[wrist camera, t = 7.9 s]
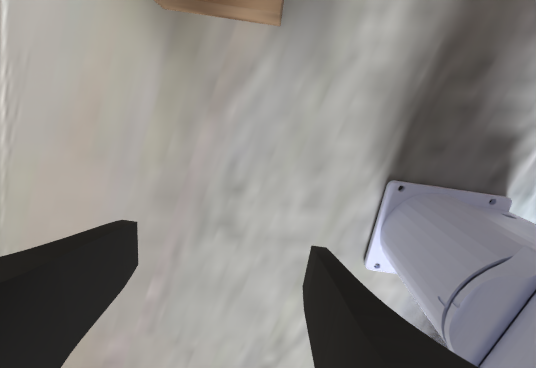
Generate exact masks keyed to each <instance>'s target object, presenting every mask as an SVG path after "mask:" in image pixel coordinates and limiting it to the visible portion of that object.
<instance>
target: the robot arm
mask: <svg viewBox="0 0 536 368" xmlns="http://www.w3.org/2000/svg"><path fill="white" fill-rule="evenodd" d="M399 186H403V188H402V189H401V190H398V188H399ZM491 199H492V201H491V202H490V203H489V201H490V200H491ZM511 205H512V200H511V199H510V198H508V197H505V196H499V195H492V194H485V193H478V192H471V191H464V190H458V189H451V188H444V187H437V186H430V185H423V184H416V183H410V182H403V181H396V180H392V181H390V182H389V183H388V184H387V187H386V190H385V193H384V197H383V200H382V204H381V207H380V210H379V214H378V217H377V221H376V224H375V227H374V231H373V234H372V237H371V241H370V244H369V248H368V251H367V254H366V258H365V261H364V265H365V267H366V268H367V269H369V270H375V271H382V272H388V273H395V274H398V276H399V277H400V278H401V280H402V281H403V283H404V284H405V286H406V287H407V289H408V290H409V291H410V293H411V294H412V296H413V297H414V299H415V300H416V301H417V303H418V304H419V306H420V307H421V309H422V310H423V312H424V313H425V314H426V316H427V317H428V319H429V320H430V322H431V323H432V324H433V326H434V327H435V329H436V330H437V332H438V333H439V335H440V336H441V337H442V339H443V340H444V342H445V343H446V345H447V346H448V349H447V348H446V347H444V346H442V345H441V344H439V343H438V342H436V341H435V340H433V339H432V338H430V337H429V336H427V335H426V334H424V333H423V332H422V331H420V330H419V329H417V328H416V327H414V326H413V325H412V324H410V323H409V322H407V321H406V320H405V319H403V318H402V317H401V316H399V315H398V314H397V313H396V312H394V311H393V310H392V309H391V308H389V307H388V306H387V305H386V304H384V303H383V302H382V301H381V300H380V299H378V298H377V297H376V296H375V295H374V294H373V293H372V292H371V291H369V290H368V289H367V288H366V287H365V286H364V285H363V284H362V283H361V282H360V281H359V280H358V279H357V278H356V277H355V276H354V275H353V274H352V273H351V272H350V271H349V270H348V269H347V268H346V267H345V266H344V265H343V264H342V263H341V262H340V261H339V260H338V259H337V258H336V257H335V256H334V255H333V254H332V253H331V252H330V251H329V250H328V249H327V248H325V247H318V246H311V251H310V255H309V260H308V264H307V269H306V274H305V278H304V283H303V301H304V312H305V318H306V323H307V329H308V334H309V340H310V345H311V350H312V356H313V361H314V366H315V368H536V224H534V223H532V222H530V221H527V220H525V219H523V218H521V217H519V216H516V215H514V214H512V213H510V212H509V209H510V207H511ZM376 263H379V264H378V265H377V266H374V265H375V264H376ZM137 266H138V238H137V222H134V221H127V220H119V221H115V222H112V223H108V224H105V225H102V226H99V227H96V228H93V229H90V230H87V231H84V232H81V233H78V234H75V235H72V236H69V237H66V238H63V239H60V240H57V241H53V242H50V243H47V244H44V245H40V246H37V247H34V248H31V249H27V250H24V251H20V252H17V253H13V254H9V255H5V256H1V257H0V368H61V366H62V365H63V364H64V362H65V361H66V359H67V358H68V356H69V355H70V353H71V352H72V351H73V349H74V348H75V347H76V346H77V344H78V343H79V342H80V340H81V339H82V338H83V337H84V335H85V334H86V333H87V332H88V331H89V329H90V328H91V327H92V326H93V325H94V323H95V322H96V321H97V320H98V318H99V317H100V316H101V315H102V314H103V312H104V311H105V310H106V309H107V308H108V306H109V305H110V304H111V303H112V302H113V300H114V299H115V298H116V297H117V295H118V294H119V293H120V292H121V290H122V289H123V288H124V287H125V285H126V284H127V282H128V280H129V279H130V277H131V276H132V274H133V272H134V271H135V269H136V267H137Z"/></svg>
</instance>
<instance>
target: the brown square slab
mask: <svg viewBox="0 0 536 368" xmlns="http://www.w3.org/2000/svg"><path fill="white" fill-rule="evenodd" d="M154 1H155V2H156V3H158V4H159V5H160V6H161V7H162V8H164V9H168V10H175V11H182V12H189V13H195V14H202V15H209V16H215V17H222V18H229V19H235V20H242V21H249V22H255V23H262V24H269V25H276V26H280V25H281V18H282V10H283V3H284V0H154Z"/></svg>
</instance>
